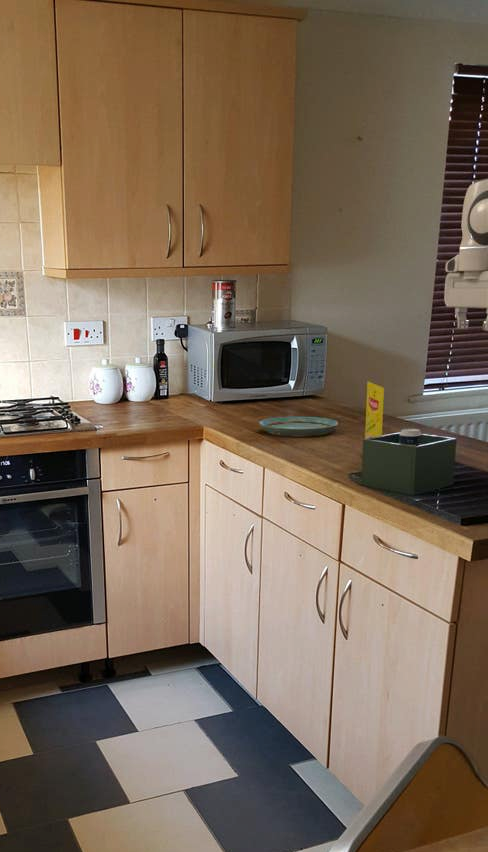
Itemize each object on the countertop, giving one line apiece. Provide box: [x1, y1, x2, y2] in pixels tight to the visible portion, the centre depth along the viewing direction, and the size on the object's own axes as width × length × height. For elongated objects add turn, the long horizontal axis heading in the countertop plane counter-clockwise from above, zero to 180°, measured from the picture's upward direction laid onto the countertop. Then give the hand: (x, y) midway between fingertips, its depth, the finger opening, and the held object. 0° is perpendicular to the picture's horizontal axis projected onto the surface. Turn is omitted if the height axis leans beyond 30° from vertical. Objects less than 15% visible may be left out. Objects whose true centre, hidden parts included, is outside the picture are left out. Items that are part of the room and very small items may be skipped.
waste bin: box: [360, 431, 458, 496], centre depth 199 cm, size 15×15×11 cm
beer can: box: [399, 428, 422, 446], centre depth 198 cm, size 5×5×12 cm
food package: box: [364, 381, 385, 439], centre depth 223 cm, size 15×1×20 cm, turn 2°
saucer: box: [259, 416, 339, 438], centre depth 274 cm, size 24×24×3 cm
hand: (475, 329), depth 190 cm, fingers open, 8 cm apart
